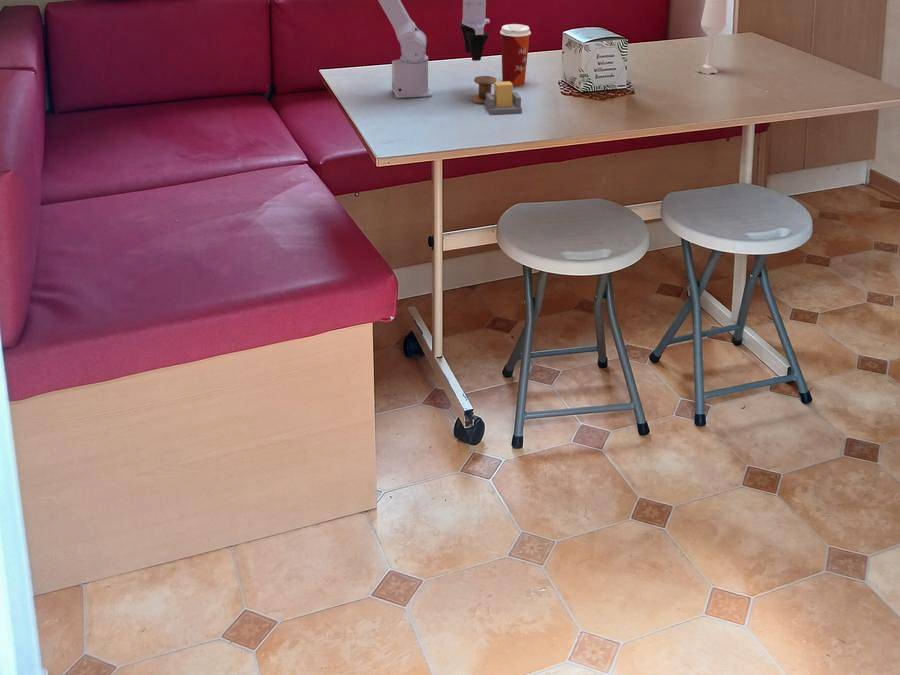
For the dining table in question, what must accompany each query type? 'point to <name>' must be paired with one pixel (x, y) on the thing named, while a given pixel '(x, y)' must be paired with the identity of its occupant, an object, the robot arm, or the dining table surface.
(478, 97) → the bobbin
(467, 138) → the dining table surface
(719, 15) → the champagne flute
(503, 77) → the coffee cup
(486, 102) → the grey cradle
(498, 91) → the yellow upright block
